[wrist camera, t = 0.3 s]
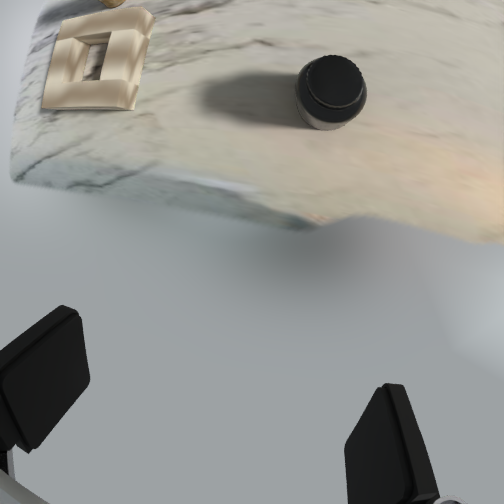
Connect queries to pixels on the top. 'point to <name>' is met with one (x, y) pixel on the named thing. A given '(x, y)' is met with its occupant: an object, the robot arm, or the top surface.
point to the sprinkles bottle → (112, 3)
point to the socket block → (114, 67)
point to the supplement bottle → (330, 92)
